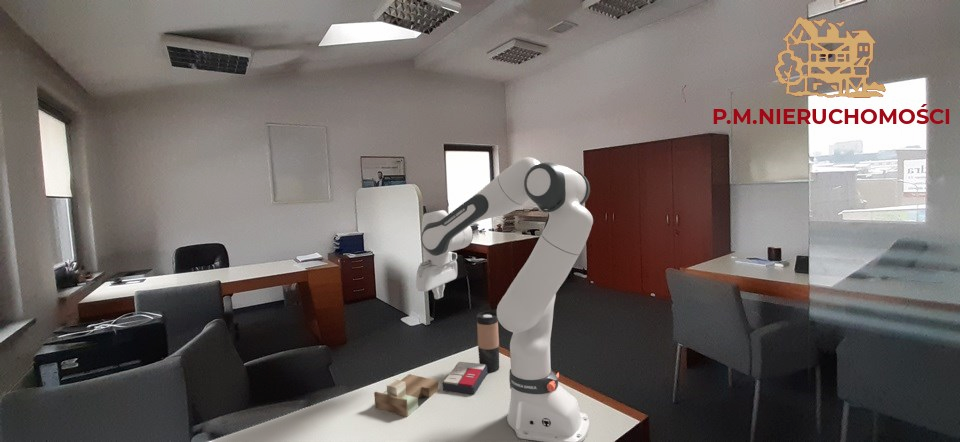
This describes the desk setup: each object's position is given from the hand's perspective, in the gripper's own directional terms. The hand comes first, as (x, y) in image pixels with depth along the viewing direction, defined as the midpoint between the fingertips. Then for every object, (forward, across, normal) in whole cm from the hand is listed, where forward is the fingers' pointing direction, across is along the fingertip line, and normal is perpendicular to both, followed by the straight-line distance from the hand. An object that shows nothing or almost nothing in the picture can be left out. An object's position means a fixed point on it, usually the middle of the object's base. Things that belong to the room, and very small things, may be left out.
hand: (438, 297), depth 133 cm
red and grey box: (+30, +2, -8) cm, 31 cm away
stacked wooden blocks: (+29, -14, +4) cm, 32 cm away
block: (+26, -19, +5) cm, 33 cm away
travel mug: (+29, +14, -11) cm, 34 cm away
